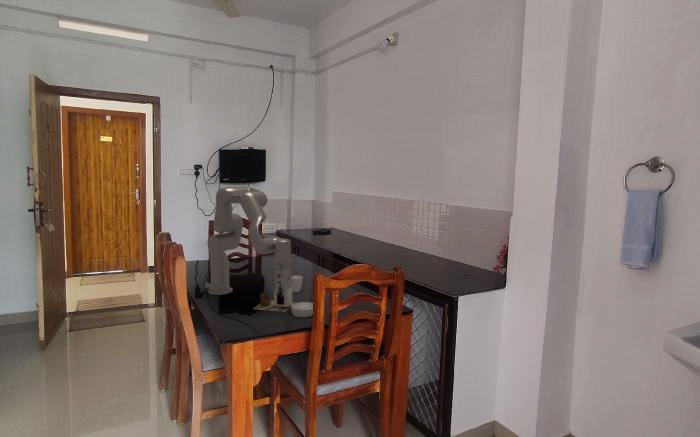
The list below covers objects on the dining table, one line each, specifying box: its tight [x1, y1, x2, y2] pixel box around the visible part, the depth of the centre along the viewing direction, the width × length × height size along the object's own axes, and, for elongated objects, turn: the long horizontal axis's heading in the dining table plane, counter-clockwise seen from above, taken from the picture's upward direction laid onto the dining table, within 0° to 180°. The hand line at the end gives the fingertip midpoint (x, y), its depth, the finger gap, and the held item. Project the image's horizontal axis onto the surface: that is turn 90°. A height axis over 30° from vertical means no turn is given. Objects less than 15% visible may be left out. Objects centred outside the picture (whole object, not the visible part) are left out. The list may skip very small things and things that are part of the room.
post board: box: [252, 292, 296, 313], centre depth 205 cm, size 16×14×7 cm
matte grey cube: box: [273, 287, 293, 307], centre depth 204 cm, size 7×7×8 cm
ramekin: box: [290, 301, 314, 318], centre depth 195 cm, size 11×11×5 cm
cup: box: [291, 275, 304, 294], centre depth 233 cm, size 7×10×8 cm
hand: (283, 301), depth 204 cm, fingers closed on matte grey cube, 6 cm apart
